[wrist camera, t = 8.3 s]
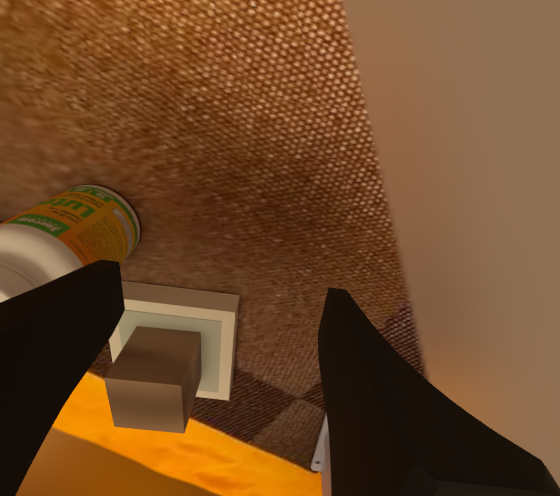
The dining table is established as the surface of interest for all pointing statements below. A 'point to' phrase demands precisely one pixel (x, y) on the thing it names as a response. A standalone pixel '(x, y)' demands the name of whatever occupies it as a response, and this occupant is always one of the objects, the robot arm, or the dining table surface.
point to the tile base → (186, 327)
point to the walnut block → (155, 379)
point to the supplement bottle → (64, 237)
